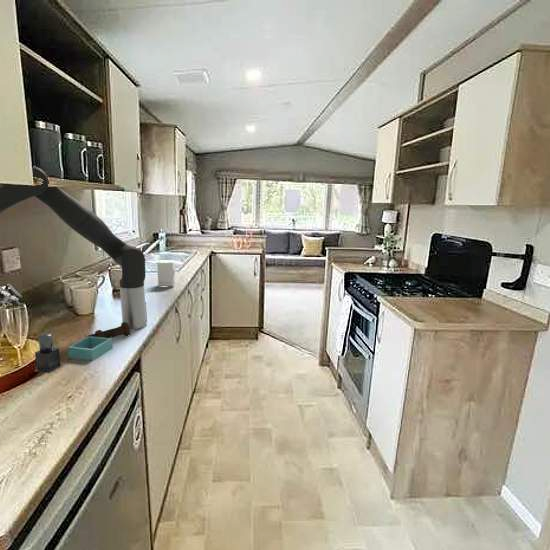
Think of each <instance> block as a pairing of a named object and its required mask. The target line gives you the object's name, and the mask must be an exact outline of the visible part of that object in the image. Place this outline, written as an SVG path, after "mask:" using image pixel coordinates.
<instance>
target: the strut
mask: <svg viewBox="0 0 550 550" xmlns="http://www.w3.org/2000/svg"><path fill="white" fill-rule="evenodd" d="M37 337H38V347H39V350H38V351H35V352H34V356H35V365H36V367H37V369H41V370H49V371H50V370H51V369H53V368H55V367H57V366H58V365H60V364H61V363H60V362H61V356H60V348H59V347H54V339H53V337H54V336H53V333H52V332H44V333H39V334H38V335H37Z"/></svg>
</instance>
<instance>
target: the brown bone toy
mask: <svg viewBox="0 0 550 550" xmlns="http://www.w3.org/2000/svg"><path fill="white" fill-rule="evenodd" d="M124 335H125V336H124ZM128 335H129V336H130V335H131V330H130V327H129V325H128V323H126V322H121V323H120V326H118V327H114V328H111V329H110V328H109V329H106V330H101V329H98V330H95V332H94V333H92V334H88V335H87V336H86V337H88V336H92V337H101V338H111V339H113V338H115V337H119V336H124V337H126V336H127V337H129V336H128Z"/></svg>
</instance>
